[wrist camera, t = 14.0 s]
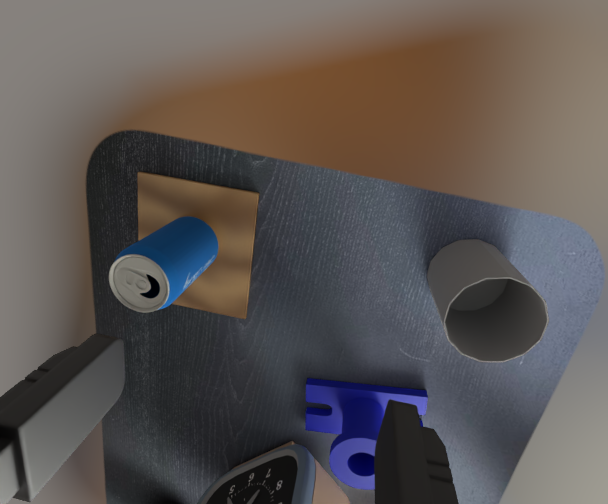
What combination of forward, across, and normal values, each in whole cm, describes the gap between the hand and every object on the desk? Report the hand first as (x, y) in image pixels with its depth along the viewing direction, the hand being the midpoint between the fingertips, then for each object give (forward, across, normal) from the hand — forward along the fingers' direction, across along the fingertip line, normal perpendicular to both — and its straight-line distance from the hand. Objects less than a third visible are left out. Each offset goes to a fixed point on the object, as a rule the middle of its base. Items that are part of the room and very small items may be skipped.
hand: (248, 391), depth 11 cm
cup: (+32, -16, +7) cm, 37 cm away
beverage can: (+32, +15, +9) cm, 36 cm away
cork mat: (+32, +15, +10) cm, 37 cm away
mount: (+32, -9, +28) cm, 44 cm away
